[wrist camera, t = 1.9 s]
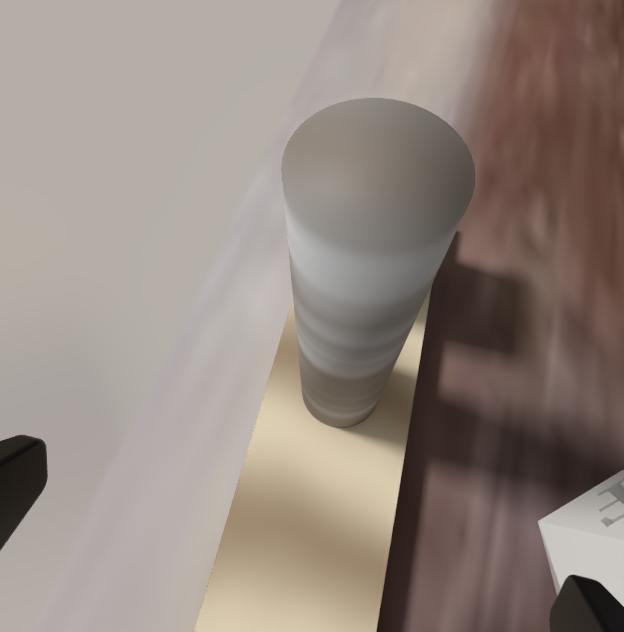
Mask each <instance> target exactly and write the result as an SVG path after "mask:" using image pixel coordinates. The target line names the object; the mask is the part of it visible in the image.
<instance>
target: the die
mask: <svg viewBox="0 0 624 632" xmlns="http://www.w3.org/2000/svg"><path fill="white" fill-rule="evenodd" d="M538 524H539V528H540V531H541V535H542V539H543V543H544V547H545V551H546V554H547V558H548V562H549V566H550V570H551V573H552V577H553V581H554V585H555V589H556V593H557V596H558V594H559V592H560V589H561V587H562V585H563V583H564V581H565V579H566V578H567V577H568V576H569V575H578V576H582V577H586V578H590V579H594V580H596V581H598V582H600V583H601V584H602V585H603V586H604V587H605V588H606V589H607V590H608V591H609V592H610V593H611V594H612V595H613V596H614V597H615V598H616V599H617V600H618V601H619V602H620V603H621V604H622V605H623V606H624V470H622V471H620V472H619V473H617V474H615V475H614V476H612V477H610V478H609V479H607V480H605V481H604V482H602V483H600V484H599V485H597V486H595V487H594V488H592V489H591V490H589V491H587V492H586V493H584V494H582V495H581V496H579V497H577V498H576V499H574V500H572V501H571V502H569V503H567V504H566V505H564V506H562V507H561V508H559V509H558V510H556V511H554V512H553V513H551V514H549V515H548V516H546V517H544V518H543V519H541V520H539V521H538Z"/></svg>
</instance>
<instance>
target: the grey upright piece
mask: <svg viewBox="0 0 624 632" xmlns="http://www.w3.org/2000/svg"><path fill="white" fill-rule="evenodd" d="M281 169H282V182H283V192H284V203H285V214H286V225H287V236H288V247H289V258H290V268H291V279H292V290H293V299H292V302H291V306H290V309H289V313H288V316H287V319H286V323H285V326H284V329H283V333H282V336H281V339H280V343H279V346H278V350H277V353H276V356H275V360H274V363H273V366H272V370H271V373H270V377H269V380H268V383H267V387H266V390H265V393H264V397H263V400H262V404H261V407H260V410H259V414H258V417H257V420H256V424H255V427H254V430H253V434H252V437H251V441H250V444H249V447H248V451H247V454H246V457H245V461H244V464H243V468H242V471H241V474H240V478H239V481H238V484H237V488H236V491H235V495H234V498H233V501H232V505H231V508H230V511H229V515H228V518H227V522H226V525H225V528H224V532H223V535H222V538H221V542H220V545H219V548H218V552H217V555H216V559H215V562H214V565H213V569H212V572H211V575H210V579H209V582H208V586H207V589H206V592H205V596H204V599H203V602H202V606H201V609H200V613H199V616H198V619H197V623H196V626H195V629H194V632H376V630H377V624H378V618H379V612H380V605H381V599H382V593H383V587H384V580H385V574H386V568H387V562H388V555H389V549H390V543H391V537H392V531H393V524H394V518H395V512H396V506H397V499H398V493H399V487H400V481H401V474H402V468H403V462H404V456H405V449H406V443H407V437H408V431H409V425H410V418H411V412H412V406H413V400H414V393H415V387H416V381H417V375H418V368H419V362H420V356H421V350H422V343H423V337H424V331H425V325H426V319H427V312H428V306H429V300H430V294H431V287H432V283H433V281H434V279H435V277H436V274H437V272H438V270H439V268H440V266H441V263H442V261H443V259H444V257H445V255H446V253H447V250H448V248H449V246H450V244H451V242H452V240H453V237H454V235H455V233H456V231H457V229H458V226H459V224H460V222H461V220H462V218H463V216H464V213H465V211H466V209H467V207H468V205H469V202H470V200H471V198H472V195H473V191H474V187H475V168H474V163H473V159H472V156H471V154H470V152H469V149H468V147H467V145H466V144H465V142H464V141H463V139H462V138H461V137H460V136H459V134H458V133H457V132H456V131H455V130H454V129H453V128H452V127H451V126H450V125H449V124H448V123H446V122H445V121H444V120H442V119H441V118H439V117H438V116H436V115H435V114H433V113H431V112H429V111H427V110H425V109H423V108H421V107H418V106H416V105H413V104H409V103H406V102H402V101H397V100H392V99H383V98H365V99H355V100H349V101H345V102H341V103H338V104H335V105H332V106H330V107H327V108H325V109H323V110H321V111H319V112H317V113H316V114H314V115H313V116H311V117H310V118H308V119H307V120H306V121H305V122H304V123H303V124H301V125H300V127H299V128H298V129H297V130H296V131H295V132H294V134H293V135H292V137H291V138H290V140H289V142H288V144H287V146H286V148H285V151H284V155H283V159H282V168H281Z"/></svg>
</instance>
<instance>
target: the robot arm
mask: <svg viewBox="0 0 624 632" xmlns="http://www.w3.org/2000/svg"><path fill="white" fill-rule="evenodd" d="M47 476H48V475H47V452H46V444H45V442H44V441H43V440H41V439H39V438H34V437H31V436H27V435H18V436H15V437H12V438H9V439H5V440H2V441H0V550H1V549H2V548H3V546H4V545H5V543H6V542H7V541H8V539H9V538H10V536H11V535H12V533H13V532H14V531H15V529H16V528H17V526H18V525H19V524H20V522H21V521H22V519H23V518H24V517H25V515H26V514H27V512H28V511H29V510H30V508H31V507H32V505H33V504H34V502H35V501H36V500H37V498H38V497H39V495H40V494H41V493H42V491H43V489H44V487H45V485H46V482H47ZM549 621H550V632H624V606H623V605H622V604H621V603H620V602H619V601H618V600H617V599H616V598H615V597H614V596H613V595H612V594H611V593H610V592H609V591H608V590H607V589H606V588H605V587H604V586H603V585H602V584H601V583H600V582H598V581H596V580H594V579H590V578H586V577H582V576H578V575H569V576H568V577H567V578H566V579H565V581H564V583H563V585H562V587H561V589H560V592H559V594H558V596H557V598H556V600H555V602H554V604H553V606H552V609H551V612H550V619H549Z"/></svg>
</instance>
